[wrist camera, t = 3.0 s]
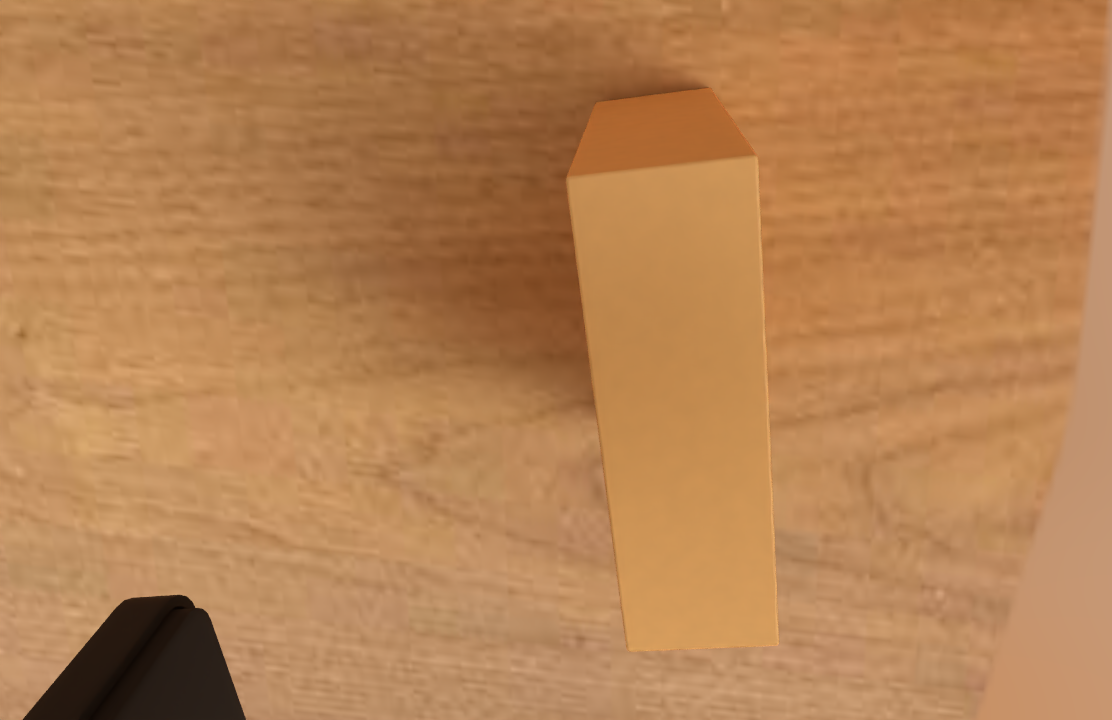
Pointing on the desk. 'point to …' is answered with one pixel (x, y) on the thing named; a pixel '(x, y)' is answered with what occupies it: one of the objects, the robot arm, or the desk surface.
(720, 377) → the toast
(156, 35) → the desk surface
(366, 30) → the desk surface
